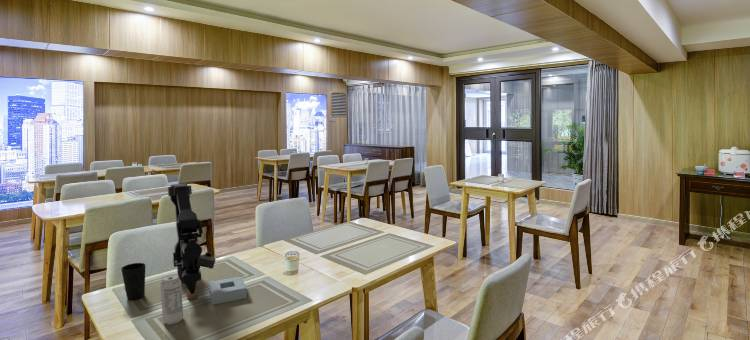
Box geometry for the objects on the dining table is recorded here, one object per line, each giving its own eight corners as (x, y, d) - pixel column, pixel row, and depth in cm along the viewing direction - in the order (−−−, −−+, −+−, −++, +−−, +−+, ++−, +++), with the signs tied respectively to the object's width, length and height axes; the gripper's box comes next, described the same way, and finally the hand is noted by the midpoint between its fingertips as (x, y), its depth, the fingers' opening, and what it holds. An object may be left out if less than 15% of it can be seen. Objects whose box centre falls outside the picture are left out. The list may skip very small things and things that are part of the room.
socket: (209, 291, 155) (208, 281, 154) (241, 286, 160) (241, 276, 160) (212, 304, 144) (211, 294, 144) (246, 298, 149) (246, 287, 149)
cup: (120, 303, 145) (118, 271, 144) (127, 294, 153) (125, 263, 151) (144, 300, 148) (142, 269, 146) (150, 291, 155) (147, 261, 153)
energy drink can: (183, 314, 137) (180, 272, 135) (184, 322, 132) (181, 279, 130) (163, 319, 134) (159, 276, 132) (163, 327, 129) (160, 282, 127)
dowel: (187, 297, 150) (185, 276, 149) (197, 295, 152) (196, 274, 151) (187, 301, 147) (186, 280, 146) (198, 299, 149) (197, 278, 148)
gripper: (215, 255, 142) (217, 297, 144) (211, 241, 159) (213, 278, 161) (180, 260, 137) (183, 303, 140) (180, 244, 154) (182, 283, 156)
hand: (192, 291), depth 149 cm, fingers closed on dowel, 4 cm apart
